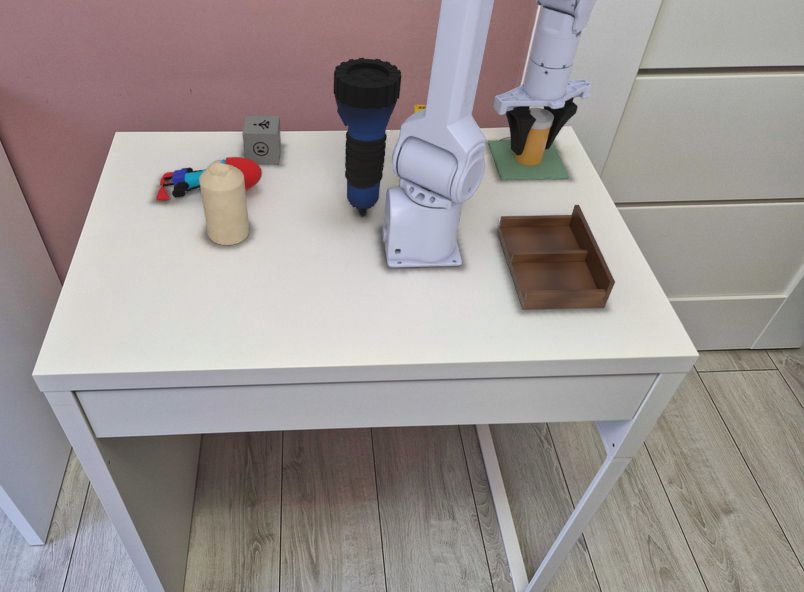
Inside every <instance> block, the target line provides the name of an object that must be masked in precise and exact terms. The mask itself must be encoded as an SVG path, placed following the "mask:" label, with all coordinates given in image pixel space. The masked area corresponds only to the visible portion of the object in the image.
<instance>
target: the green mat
mask: <svg viewBox="0 0 804 592" xmlns="http://www.w3.org/2000/svg"><path fill="white" fill-rule="evenodd" d="M487 143H488V147H489V149H490V153H491V155H492V158H493V161H494V163H495V166H496V169H497V172H498V175H499V177H500V180H501V181H514V180H515V181H516V180H519V181H520V180H568V179H570V175H569V173H568V171H567V169H566V167H565V165H564V163H563V160H562V158H561V156H560V154H559V152H558V150H557V148H556V145H555V144H554V142H553V143H552V145H551V147H550V148H549V149H545V151H544V155H543V159H542V162H541V163H540V164H538V165H534V166H527V165H523V164H520V163H518V162H517V161H516V160H515V158H514V154H515V153H514V152H513V151H512V150H511V140H488V142H487Z"/></svg>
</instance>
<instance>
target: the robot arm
mask: <svg viewBox="0 0 804 592" xmlns="http://www.w3.org/2000/svg"><path fill="white" fill-rule="evenodd" d="M534 1H535V4H536V5H538V6H541V8H540V11H539V15H538V21H537V24H536V30H535V34H534V39H533V43H532V48H531V51H530V52H531V53H530V56H529V61H528V65H527V71H526V74H525V75H526V76H525V80H524V83H523V84H521V85H518V86H517V87H515V88H513V89H510V90H508V91H506V92H504V93H501V94H497V95H495V96H494V99H493V106H492V109H493V110H494V112H496V113H497V114H498V115H499V116H503V115H505V116H506V119H507V123H508V128H509V136H510V137H509V138H510V141H511V150H512V151H513V152H514V153H515V154H516V155H522V153H523V150H524V147H525V144H526V140H527V136H528V134H529V132H530V129H531V127H532V126H533V124H534V123H535V121H536V119H535V118H534V117H533V116H532V115H531V114H530V112H531V110H529V108H531V107H543V109H545V110H548V111H550V112H551V113H552V114H553V115H554V120H553V124H552V126H551V128H550V132H549V136H548V140H547V144H546V148H545V149H549V148H550V147H551V145H552V143H553V144H554V141H555V140H556V138H557V137H558V135H559V133H560V132H561V131H562V130H563V127H564V126H565V125H566V124H567V123H568V121H569V120H571V118H572V117H574V115H576V114H577V113H578V112H577V111H578V104H576V103H575V102H574V99H576V98H580V99H588V98H589V97H590V93H591V90H592V88H593V87H592V86H593V85H592V84H591V83H590V82H589V81H587V80H586V79H585V78H581V79H570V76H571V73H572V69H573V65H574V62H575V59H576V56H577V55H576V54H577V51H578V47H579V43H580V39H581V35H582V32H583V30H584V29H585V28H586V27H587V25H588V23H589V21H590V17H591V14H592V11H593V9H594V7H595V5H596V2H597V0H534ZM494 3H495V0H441V3H440V8H439V9H440V10H439V15H438V24H437V28H436V29H437V30H436V36H435V43H434V50H433V56H432V63H431V69H430V70H431V71H430V77H429V84H428V91H427V98H426V104H425V105H426V109H423V110H421V111H419V112H416V113H414V112H413V114H411V115H409V116H408V117H407V118H406V119H405V121H403V122H402V123H401V125H400V130H399V135H398V138H397V140H396V141H397V142H396V143H395V145H394V148H393V151H392V155H391V169H392V172H393V174H394V175H395V176H396V177H398V178H399V185H396V186H390V187H387V188H386V191H385V199H384V200H385V201H384V211H383V212H384V213H383V224H382V225H383V227H382V234H381V235H382V242H383V245H384V252H385V256H386V265H387V267H389V268H420V267H421V268H426V267H459V266H462V264H463V260H462V256H461V252H460V249H459V243H458V240H457V237H458V230H459V225H460V220H461V214H462V207H463V204H464V203H465V202H467V201H468V200H470V199H472V197H473V196H474V195H475V193H476V192H477V190H478V188H479V187H480V185H481V183H482V180H483V178H484V175H485V172H486V158H485V155H486V154H485V151H486V144H487V137H486V136H485V134H484V132H483V131H482V129H481V127H480V126H479V124H478V123H477V122H476V120H475V119H474V116H473V109H474V105H475V99H476V95H477V90H478V84H479V79H480V74H481V69H482V64H483V59H484V55H485V49H486V44H487V39H488V34H489V29H490V24H491V19H492V14H493V8H494Z"/></svg>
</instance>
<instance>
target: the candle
mask: <svg viewBox="0 0 804 592" xmlns="http://www.w3.org/2000/svg"><path fill="white" fill-rule="evenodd" d="M211 163H212V162H211ZM211 163H209V164H208V166H209V167H208V166H207V167H208V168H207V167H206V168H205V169H206V170H205V171H204V172H203V173H202V174H201V175H200V178H199V182H200V188H199V189H200V194H201V200H202V206H203V211H204V212H203V213H204V219H205V224H206V230H207V231H206V232H207V235H208V238H209V239H210V241H212V242H213V243H215V244H218V245H222V246H233V245H238V244H239V243H242V242H243V241H245V240H246V239H247V238H248V236H249V234H250V223H249V213H248V202H247V193H246V190H245V182H244V175H243V173H242V172H241V171H240V170H239V169H237V168H236V167H234V166H231V165H227V164H223V163H212V164H211Z"/></svg>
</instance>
